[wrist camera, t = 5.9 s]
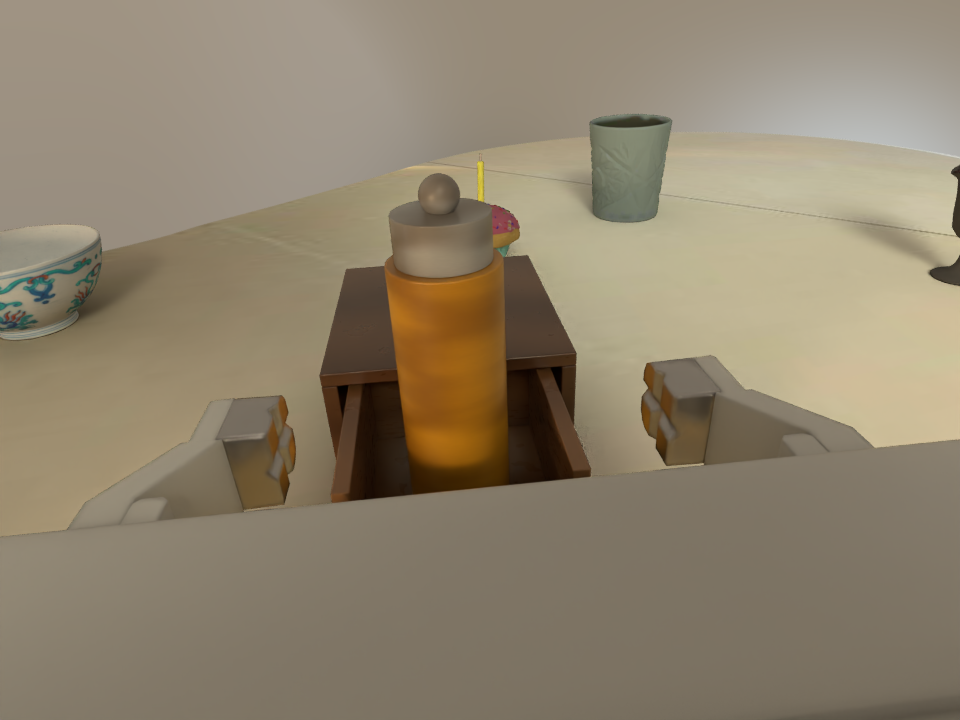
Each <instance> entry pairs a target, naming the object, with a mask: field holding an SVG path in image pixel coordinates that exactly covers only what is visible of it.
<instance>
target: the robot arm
mask: <svg viewBox="0 0 960 720" xmlns="http://www.w3.org/2000/svg"><path fill="white" fill-rule="evenodd" d="M643 380H644V381H645V383H646V385H647V386H648V389H647V391H646V392H645V393H644V394H643V396H642V401H641V413H642V421H643V424H644V427H645V429H646V431H647V433H648V435H649V436H651V437H653V438H654V439H656V449H657V451H658V452H659V454H660V456H661V458H662V459H663V461H664V463H665V464H666V466H672V465H686V464H699V463H704V465H702V466H692V467H682V468H672V469H662V470H653V471H643V472H633V473H623V474H613V475H603V476H594V477H584V478H574V479H564V480H554V481H544V482H535V483H525V484H515V485H505V486H495V487H485V488H475V489H465V490H456V491H446V492H436V493H426V494H416V495H406V496H396V497H386V498H377V499H367V500H357V501H347V502H337V503H327V504H317V505H307V506H297V507H288V508H278V509H268V510H258V511H249V512H244V511H243V510H246V509H253V508H261V507H269V506H277V505H284V503H285V500H286V496H287V492H288V488H289V485H290V483H289V479H288V474H289V473H291V472H292V471H293V469H294V465H295V457H296V446H295V438H294V434H293V429H292V428H291V427H289V426H288V425H287V424H286V423H285V422H286V419H287V416H288V409H287V405H286V401H285V399H284V397H283V396H282V395H280V396H266V397H252V398H238V399H234V398H233V399H224V400H215V401H212V402H210V403H209V404H208V406H207V408H206V410H205V412H204V414H203V416H202V417H201V419H200V421H199V423H198V425H197V427H196V429H195V431H194V432H193V434H192V436H191V438H190V440H189V442H187V443H181V444H179V445H177V446H176V447H174V448H172V449H171V450H169V451H168V452H166V453H164V454H163V455H161V456H160V457H158V458H156V459H155V460H153V461H152V462H150V463H148V464H147V465H145V466H143V467H142V468H140V469H139V470H137V471H135V472H134V473H132V474H131V475H129V476H127V477H126V478H124V479H122V480H121V481H119V482H118V483H116V484H114V485H113V486H111V487H110V488H108V489H106V490H105V491H103V492H102V493H100V494H98V495H97V496H95V497H93V498H92V499H90V500H89V501H87V502H85V503H84V505H83V506H82V508H81V509H80V511H79V512H78V514H77V515H76V517H75V518H74V519H73V521H72V522H71V524H70V525H69V527H68V528H67V530H62V531H52V532H42V533H32V534H22V535H12V536H2V537H0V720H960V439H958V440H948V441H938V442H928V443H918V444H908V445H899V446H889V447H879V448H874V447H873V446H872V445H871V444H870V443H869V442H868V441H867V440H866V439H865V438H864V437H863V436H861V435H860V434H859V433H858V432H857V431H856V430H855V429H854V428H853V427H850V426H848V425H845V424H842V423H840V422H837V421H834V420H832V419H829V418H827V417H824V416H821V415H819V414H816V413H813V412H811V411H808V410H805V409H803V408H800V407H797V406H795V405H792V404H789V403H787V402H784V401H781V400H779V399H776V398H773V397H771V396H768V395H766V394H763V393H760V392H758V391H755V390H752V389H751V390H745V389H744V388H743V387H742V386H741V385H740V383H739V382H738V381H737V380H736V379H735V378H734V377H733V376H732V375H731V374H730V373H729V371H728V370H727V369H726V368H725V367H724V366H723V365H722V364H721V363H720V362H719V361H718V359H717V358H716V357H714V356H711V355H709V356H702V357H694V358H685V359H676V360H668V361H659V362H651V363H647V364H646V367H645V370H644V379H643Z"/></svg>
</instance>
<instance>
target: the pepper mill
mask: <svg viewBox="0 0 960 720" xmlns="http://www.w3.org/2000/svg"><path fill="white" fill-rule="evenodd" d="M418 199H419V201H414V202H410V203H406V204H403V205H401V206H398V207H396V208H395V209H393V210H392V211H391V212H390V213H389V224H390V233H391V242H392V250H393V255H392V256H391V257H390V258H388V259H387V261H386V263H385V266H384V269H385V277H386V285H387V293H388V301H389V309H390V317H391V325H392V333H393V341H394V349H395V357H396V364H397V372H398V380H399V388H400V396H401V404H402V412H403V420H404V428H405V436H406V444H407V452H408V460H409V468H410V476H411V484H412V492H413V495H416V494H426V493H436V492H446V491H456V490H465V489H475V488H485V487H495V486H505V485H509V446H508V407H507V369H506V330H505V292H504V259H503V256H502V255H501V253H500V252H499V251H497V250H496V249H494V248H493V225H492V208H491V207H490V206H489V205H488V204H486V203H484V202H482V201H478V200H474V199H467V198H460V191H459V187H458V185H457V183H456V182H455V181H454V180H453V179H452V178H451V177H450V176H448V175H445V174H441V173H437V174H432V175H430V176H428V177H427V178H425V179H424V180H423V182H422V183H421V185H420V187H419V190H418Z"/></svg>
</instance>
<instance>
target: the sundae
mask: <svg viewBox="0 0 960 720" xmlns="http://www.w3.org/2000/svg"><path fill="white" fill-rule="evenodd" d="M951 174H952V175H954V176H955V177H957V179H958V189H957V197H956V202H955V207H954V212H953V222H952V228H953V230H954V232H955V233H956V235H957V236H958V237H959V238H960V165H959V166H957V167H955V168H954V169H953V170H952V171H951ZM930 273H931V275H932V276H933V277H934V278H936V279H938V280H940V281H943V282H946V283H950V284H954V285H960V256H959V258H958V259H957V261H956V262H955V263H954V264H953V265H951V266H946V267H937V268H934V269H932V270H931V271H930Z"/></svg>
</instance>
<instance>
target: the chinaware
mask: <svg viewBox="0 0 960 720" xmlns="http://www.w3.org/2000/svg"><path fill="white" fill-rule="evenodd" d="M101 262H102V247H101V239H100V234H99V232H98V231H97V230H96V229H95V228H92V227H89V226H84V225H73V224H56V225H41V226H31V227H23V228H16V229H10V230H4V231H0V337H1V338H3V339H7V340H25V339H32V338H37V337H41V336H45V335H49V334H52V333H55V332H57V331H60V330H62V329H64V328H66V327H68V326H70V325H71V324H73V323H74V322H75V321H76V320H77V319H78V316H79V315H78V312H77V309H78V308H79V307H80V306H81V305H82V304H83V303H84V302H85V301H86V299H87V298H88V297H89V295H90V294H91V292H92V291H93V289H94V287H95V285H96V283H97V280H98V278H99V274H100V270H101Z"/></svg>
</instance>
